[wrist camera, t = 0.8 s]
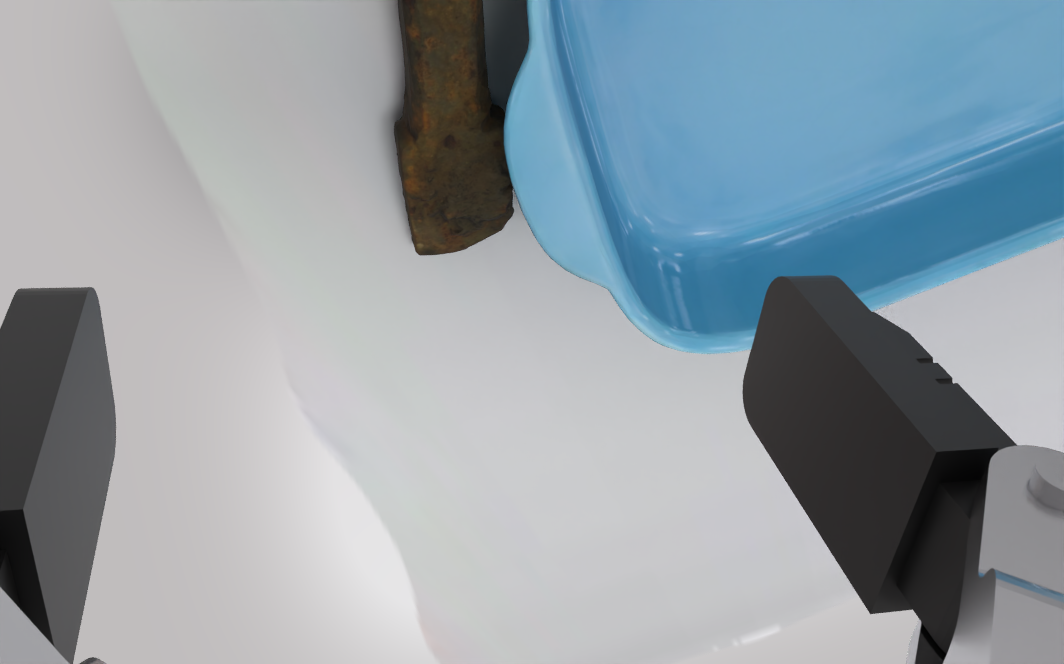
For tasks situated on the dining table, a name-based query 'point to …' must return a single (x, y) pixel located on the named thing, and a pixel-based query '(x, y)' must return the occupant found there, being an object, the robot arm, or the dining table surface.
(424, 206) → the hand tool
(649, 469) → the dining table surface
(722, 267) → the casserole dish
